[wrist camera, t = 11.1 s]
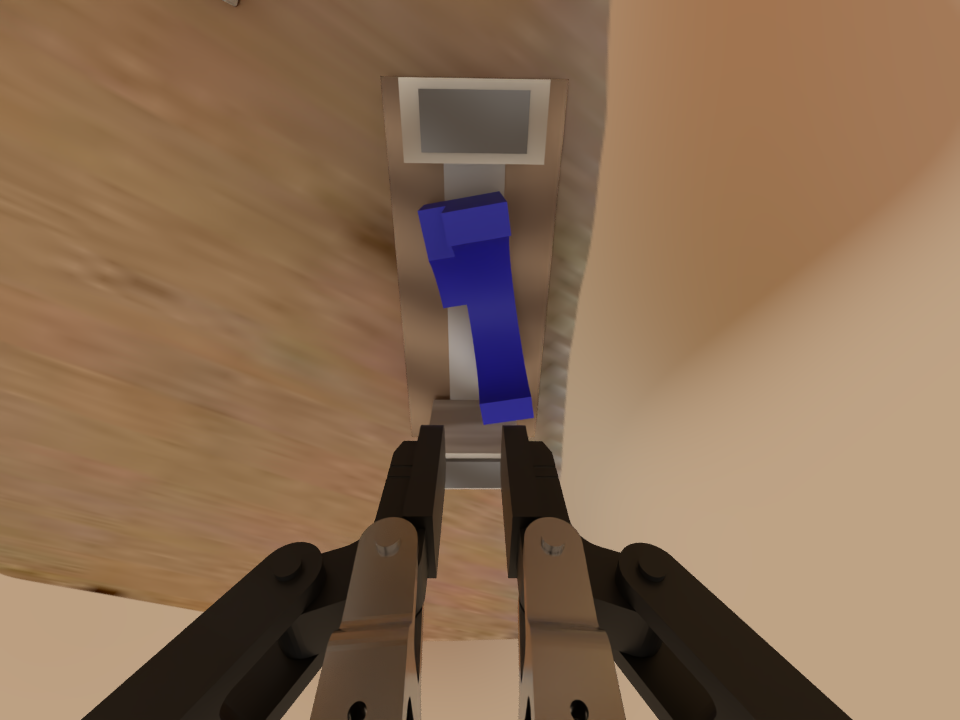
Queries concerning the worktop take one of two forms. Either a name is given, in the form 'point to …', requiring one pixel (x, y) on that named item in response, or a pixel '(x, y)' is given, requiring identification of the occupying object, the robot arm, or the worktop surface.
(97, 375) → the worktop surface
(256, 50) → the worktop surface
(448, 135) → the rail board
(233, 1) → the small box
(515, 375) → the blue curved piece
